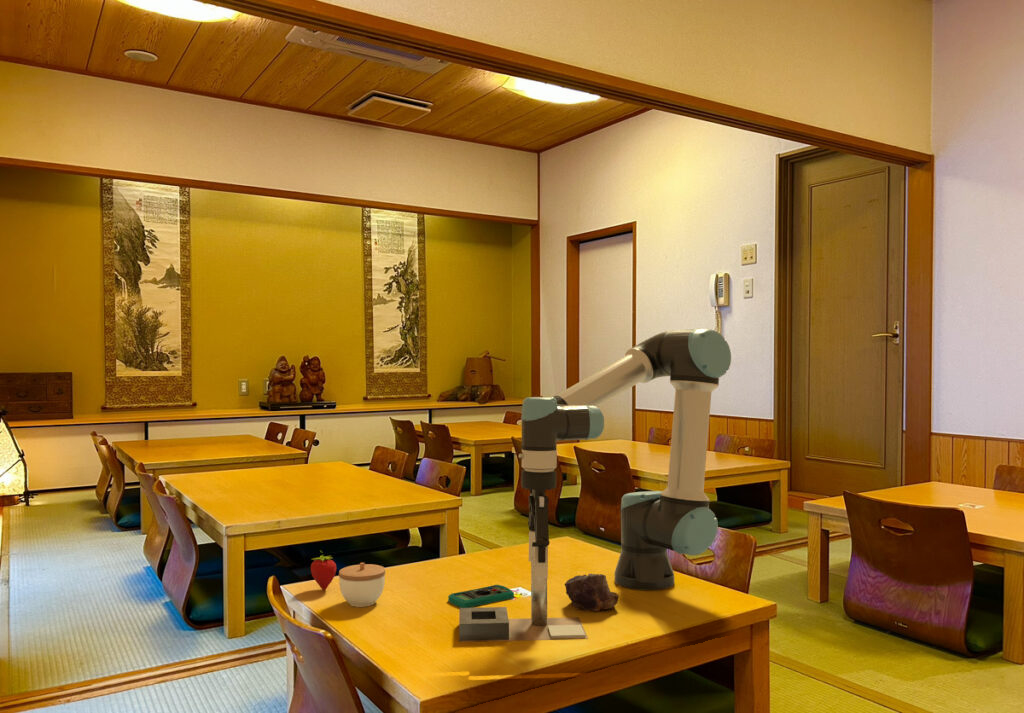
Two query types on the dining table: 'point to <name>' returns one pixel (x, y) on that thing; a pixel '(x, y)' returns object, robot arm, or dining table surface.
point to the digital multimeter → (480, 596)
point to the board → (535, 629)
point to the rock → (590, 592)
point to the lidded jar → (362, 584)
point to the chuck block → (483, 624)
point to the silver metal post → (538, 599)
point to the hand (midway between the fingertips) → (537, 569)
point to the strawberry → (323, 571)
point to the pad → (566, 631)
